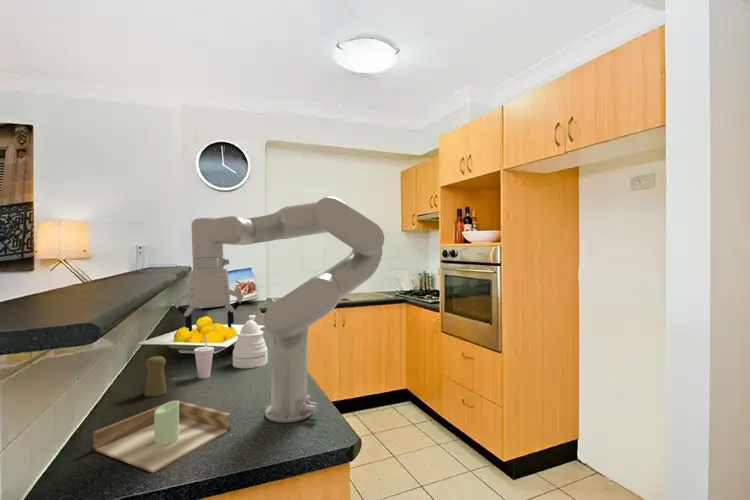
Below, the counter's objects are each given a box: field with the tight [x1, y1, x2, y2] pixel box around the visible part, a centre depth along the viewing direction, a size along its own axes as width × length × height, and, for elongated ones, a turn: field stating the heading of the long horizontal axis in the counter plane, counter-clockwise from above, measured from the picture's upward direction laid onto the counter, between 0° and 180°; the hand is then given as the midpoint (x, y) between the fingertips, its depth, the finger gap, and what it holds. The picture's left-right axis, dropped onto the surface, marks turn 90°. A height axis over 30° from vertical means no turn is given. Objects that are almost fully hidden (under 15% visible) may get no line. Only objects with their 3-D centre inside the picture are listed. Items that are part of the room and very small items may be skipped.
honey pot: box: [232, 314, 269, 369], centre depth 149 cm, size 13×13×18 cm
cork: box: [144, 355, 168, 398], centre depth 118 cm, size 6×6×11 cm
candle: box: [154, 400, 180, 445], centre depth 88 cm, size 5×5×8 cm
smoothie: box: [193, 335, 215, 379], centre depth 133 cm, size 6×6×14 cm
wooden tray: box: [92, 399, 231, 474], centre depth 89 cm, size 20×20×4 cm
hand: (210, 328), depth 103 cm, fingers open, 9 cm apart
